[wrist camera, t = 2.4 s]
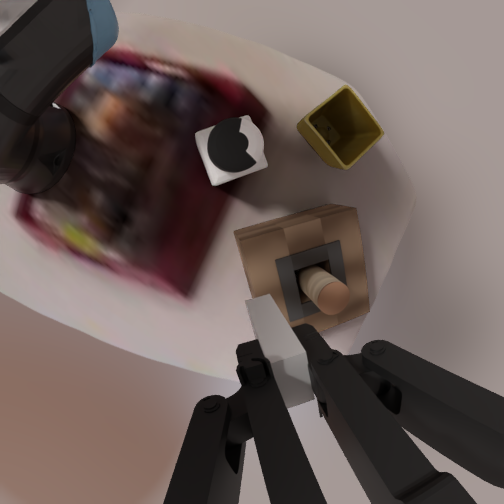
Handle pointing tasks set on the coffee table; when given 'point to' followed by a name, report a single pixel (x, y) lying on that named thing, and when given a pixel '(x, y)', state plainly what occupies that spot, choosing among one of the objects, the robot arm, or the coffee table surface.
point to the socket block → (306, 261)
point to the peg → (323, 289)
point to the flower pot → (341, 129)
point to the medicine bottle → (231, 149)
